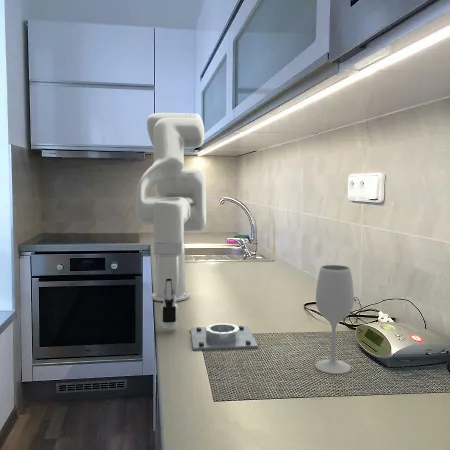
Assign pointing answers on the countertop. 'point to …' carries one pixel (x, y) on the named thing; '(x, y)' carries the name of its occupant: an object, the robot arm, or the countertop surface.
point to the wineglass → (334, 308)
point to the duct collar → (222, 332)
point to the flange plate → (203, 343)
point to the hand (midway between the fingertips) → (169, 317)
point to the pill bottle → (169, 324)
